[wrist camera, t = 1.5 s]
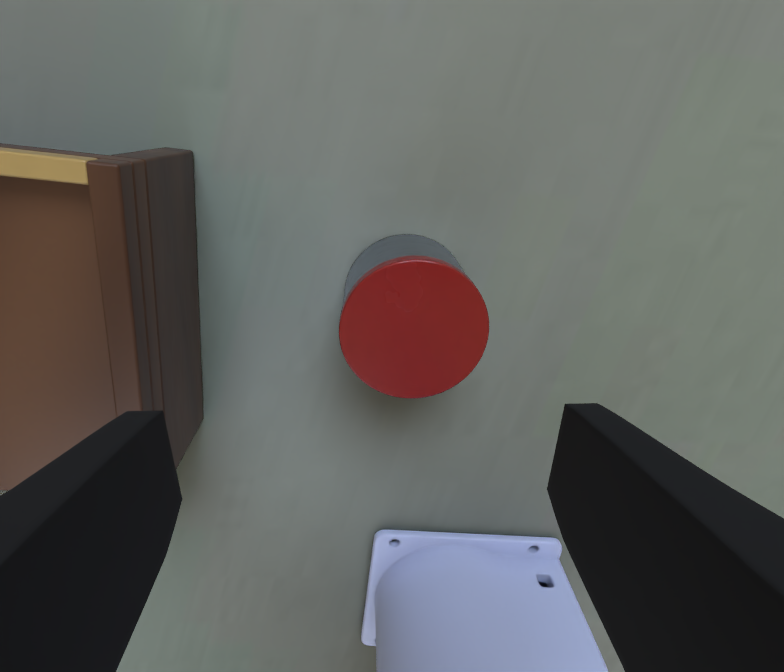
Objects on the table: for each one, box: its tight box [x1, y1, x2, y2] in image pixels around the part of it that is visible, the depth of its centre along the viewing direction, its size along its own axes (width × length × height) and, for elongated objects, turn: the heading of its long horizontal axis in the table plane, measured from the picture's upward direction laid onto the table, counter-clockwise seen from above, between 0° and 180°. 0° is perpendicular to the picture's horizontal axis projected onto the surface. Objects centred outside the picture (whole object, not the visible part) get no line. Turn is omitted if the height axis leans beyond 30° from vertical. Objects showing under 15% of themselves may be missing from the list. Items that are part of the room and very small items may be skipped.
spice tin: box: [339, 234, 489, 398], centre depth 18 cm, size 5×5×4 cm
